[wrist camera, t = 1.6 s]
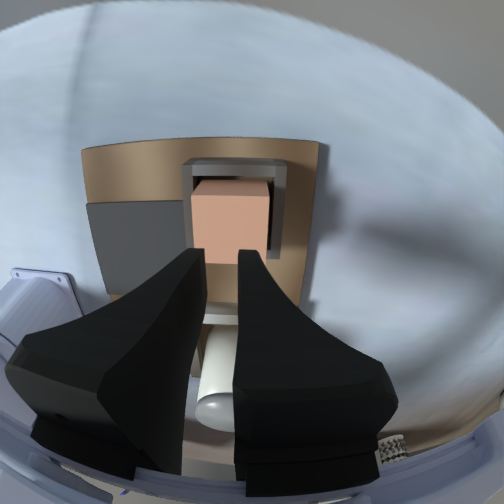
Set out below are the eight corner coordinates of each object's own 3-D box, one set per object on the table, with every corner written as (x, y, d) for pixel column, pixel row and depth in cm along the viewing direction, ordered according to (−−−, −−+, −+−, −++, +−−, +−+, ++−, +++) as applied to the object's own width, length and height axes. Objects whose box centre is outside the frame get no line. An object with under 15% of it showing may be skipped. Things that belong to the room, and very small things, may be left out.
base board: (138, 358, 27) (129, 382, 24) (88, 147, 16) (60, 157, 13) (285, 368, 27) (287, 395, 24) (315, 141, 16) (329, 148, 13)
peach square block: (204, 237, 17) (195, 262, 14) (202, 179, 15) (190, 195, 12) (263, 238, 17) (265, 264, 14) (266, 180, 15) (269, 196, 12)
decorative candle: (398, 444, 45) (417, 529, 23) (361, 454, 45) (376, 544, 23) (410, 429, 40) (435, 526, 18) (369, 441, 41) (388, 544, 19)
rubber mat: (108, 292, 21) (107, 294, 21) (87, 202, 17) (85, 204, 17) (197, 298, 21) (197, 300, 21) (189, 199, 17) (188, 201, 17)
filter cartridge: (210, 355, 25) (199, 429, 18) (205, 317, 22) (190, 399, 15) (263, 357, 25) (264, 432, 18) (266, 319, 22) (270, 403, 15)
